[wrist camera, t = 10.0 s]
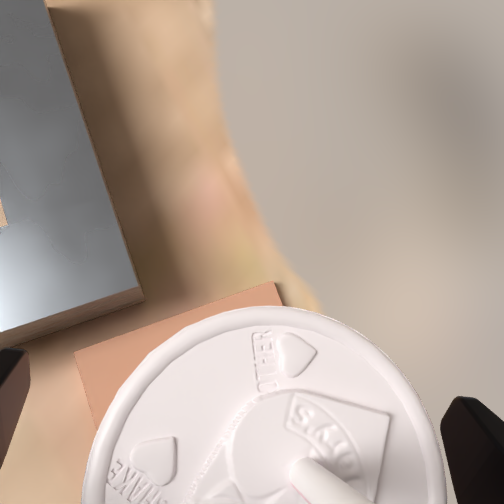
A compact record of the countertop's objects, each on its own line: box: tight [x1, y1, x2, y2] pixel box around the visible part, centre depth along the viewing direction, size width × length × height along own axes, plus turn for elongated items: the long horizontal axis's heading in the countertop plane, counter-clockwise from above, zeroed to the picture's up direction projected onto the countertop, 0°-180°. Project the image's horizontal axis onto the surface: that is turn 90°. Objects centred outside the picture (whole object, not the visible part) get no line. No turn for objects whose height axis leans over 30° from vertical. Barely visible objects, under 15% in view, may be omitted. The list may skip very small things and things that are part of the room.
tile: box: [74, 281, 283, 431], centre depth 17 cm, size 8×8×1 cm
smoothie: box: [81, 306, 447, 504], centre depth 10 cm, size 6×6×14 cm
